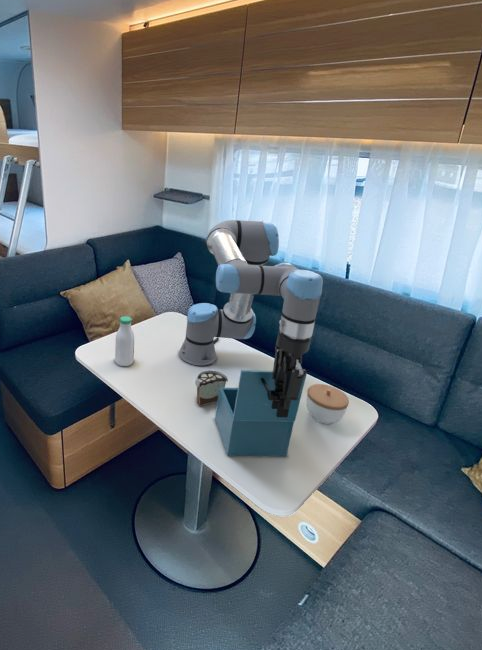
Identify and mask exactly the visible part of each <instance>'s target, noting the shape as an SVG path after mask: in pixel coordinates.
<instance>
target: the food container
mask: <svg viewBox="0 0 482 650" xmlns="http://www.w3.org/2000/svg"><path fill="white" fill-rule="evenodd" d="M228 379H229V378H228V376H227V375H226V374H224V373H222V372H220V371H217V370H204V371H201V372H200V373H198V375H197V376H196V378H195V380H194V385H195V387H196V404H197V406H199V407H202V406H205V405H206V406H207V405H211V404H213V403H217V400H218V393H219V387H220V388H226V384H227V382H228Z"/></svg>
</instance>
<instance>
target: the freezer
mask: <svg viewBox="0 0 482 650" xmlns="http://www.w3.org/2000/svg"><path fill="white" fill-rule="evenodd" d="M237 391H238V387H225V388H220V387H219V393H218V400H217V402H216V409H215V415H214V416H215V417H214V421H215V424H216V427H217V429H218V432H219V436H220V438H221V441H222V444H223V447H224V449H225V453H226V456H228V457H287V456H288V453H289V452H288V451H289V447H290V442H291V437H292V433H293V428H294V424H295V421H233V414H234V409H235V403H236V397H237Z"/></svg>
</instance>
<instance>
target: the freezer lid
mask: <svg viewBox="0 0 482 650" xmlns="http://www.w3.org/2000/svg"><path fill="white" fill-rule="evenodd" d="M307 373H308V372H307V371H306V375H305V377H304V378H303V381H302V385H301V388H300V392H299V395H298V398H297V401H291V403H290V408H289V412H288V417H277V416H276V413H277V409H272V407H271V406H272V401H279V398H280V397H279V394H282V392H283V390H275V384H274V382H275V380H273V379H272V375H273V370H253V369H250V370H249V369H248V370H247V369H246V370H245V369H243V370H240V373H239V379H238V386H237V388H238V391H237V397H236V403H235V409H234V414H233V421H294V422H296V419H297V415H298V410H299V407H300V403H301V399H302V396H303V395H302V394H303V391H304V386H305V382H306V378H307ZM276 375H277V374H276Z"/></svg>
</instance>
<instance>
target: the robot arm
mask: <svg viewBox="0 0 482 650" xmlns="http://www.w3.org/2000/svg"><path fill="white" fill-rule="evenodd" d="M279 240H280V237H279V230H278V226H277V224H275V223H274V222H272V221H264V220H261V221H259V220H242V219H241V220H237V219H229V220H223V221H221V222H219V223H217V224H216V225H214V226H213V227H212V228H211V229H210V230H209V231H208V233H207V235H206V239H205V242H206V247H207V250H208V251H209V253H210V254H212V255H213V256H214V259H215V260H216V263H217V265H218V266H217V268H216V272H215V287H216V290H217V291H218V292H220V293H228V294H229V295H230V296H229V299H228V302H226V303H225V304H224V305H223V309H221V308H220V309H219V308H218V307H217V305H215V304H211V303H208V302H201V303H195V304H193V305H192V306H190V307H189V308H188V310H187V311H188V312H187V316H186V327H185V328H186V329H185V338H184V341H183V342H182V345H181V346H180V350H179V358H180V359H181V360H182V361H183V362H185V363H187V364H188V365H189V364H190V365H192V366H198V367H205V366H209V365H212V364H214V363H215V362H216V359H217V352H216V348H215V344H214V343H216V342H217V341H218V340H219V339H220V338H223V339H233V340H234V339H235V340H248V339H250V338H251V337H252V336H253V334H254V333H255V330H256V325H257V324H256V323H257V319H256V318H257V317H256V314H255V312H254V310H253V309H252V304H253V301H254V297H255V295H261V296H277V297H279V296H280V297H281V298H282V299H283V303H282V304H283V305H282V311H281V317H280V320H278V324H279V327H278V329H279V330H278V332H277V337H276V343H275V345H274V352H275V353H274V361H273V368H272V371H273V375H272V379H273V380H275V382H274V384H275V390H283V392H282V394H279V397H280V398H279V401H272V406H271V407H272V409H277V413H276V416H277V417H288V412H289V408H290V403H291V401H297V398H298V395H299V392H300V388H301V385H302V381H303V378H304V377H305V375H306V376H307V374H306V372H307V370H306V369H303V368H302V363H303V355H305V354H306V353H308V352H309V351H310V347H311V341H312V337H313V333H314V329H315V323H316V317H317V313H318V309H319V305H320V300H321V296H322V294H323V284H324V279H323V277H322V275H320V274H319V273H316V272H315V271H312V270H308V269H306V270H305V269H299V268H298V267H297V266H295V265H293V264H292V263H291V262H280V263H278V264H275V265H274V266H273V265H265V264H267V263H269V260H270V257H274V256H277V254H278V253H279V246H280V241H279ZM276 374H277V375H276Z"/></svg>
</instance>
